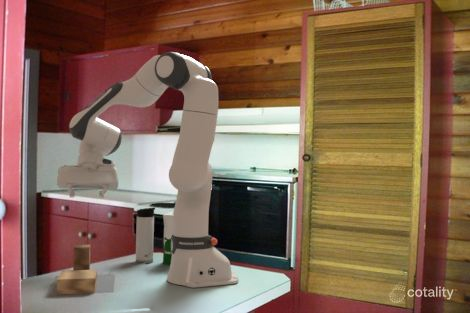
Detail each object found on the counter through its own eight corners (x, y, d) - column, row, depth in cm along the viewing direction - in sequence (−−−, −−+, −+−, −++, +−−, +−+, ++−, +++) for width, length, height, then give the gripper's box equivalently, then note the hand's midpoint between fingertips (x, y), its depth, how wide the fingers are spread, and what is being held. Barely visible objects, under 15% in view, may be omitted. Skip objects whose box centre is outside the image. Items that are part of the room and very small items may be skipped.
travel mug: (150, 264, 167) (151, 208, 167) (132, 263, 168) (134, 207, 168) (156, 260, 173) (157, 206, 173) (139, 259, 174) (141, 206, 174)
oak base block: (97, 282, 139) (97, 269, 139) (94, 292, 129) (95, 278, 129) (61, 284, 137) (62, 270, 137) (56, 294, 127) (56, 279, 127)
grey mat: (115, 275, 150) (115, 274, 150) (113, 294, 130) (113, 291, 130) (56, 277, 146) (56, 275, 146) (44, 296, 126) (44, 294, 126)
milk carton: (191, 261, 173) (192, 207, 173) (181, 266, 165) (182, 210, 165) (170, 259, 176) (171, 206, 176) (159, 264, 167) (160, 208, 167)
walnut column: (89, 276, 146) (90, 244, 146) (88, 279, 142) (89, 247, 142) (74, 276, 145) (75, 244, 145) (73, 280, 141) (73, 247, 141)
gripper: (58, 159, 161) (52, 189, 151) (119, 161, 166) (117, 191, 156) (59, 171, 165) (54, 201, 156) (119, 173, 170) (117, 202, 160)
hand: (86, 196), depth 156 cm, fingers open, 8 cm apart
